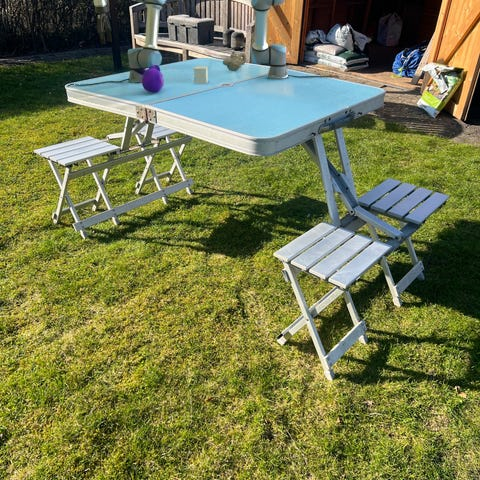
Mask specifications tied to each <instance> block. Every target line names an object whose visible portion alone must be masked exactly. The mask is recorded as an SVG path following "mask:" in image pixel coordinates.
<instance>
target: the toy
mask: <svg viewBox="0 0 480 480" xmlns="http://www.w3.org/2000/svg"><path fill="white" fill-rule="evenodd" d="M134 71H135V72H137V73H139V74H141V75H143V76H142V83H141V85H142V87H143V89H144V90H145V91H146V92H147V93H151V94H157V93H159V92H160V91H161V90H162V89H163V87H164V86H165V78H164V75H163V72H161V67H160V65H159V66H158V65H154V66H150V67H149V68H146V70H134Z"/></svg>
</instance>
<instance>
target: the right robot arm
mask: <svg viewBox="0 0 480 480" xmlns="http://www.w3.org/2000/svg"><path fill="white" fill-rule="evenodd" d="M285 2H286V0H250V5H251V8H252V9H253V10H254V11H253V13H254V23H253V25H254V37H253V40H254V42H253V43H252V44H251V46H250V47H249V49H250V50H249V51H250V58H251V63H252V64H253V65H254V64H255V65H256V64H257V65H261V64H269V66H270V67H269V70H268V72H267V79H269V80H285V79H288V78H289V77H292V78H298V79H299V78H338V79H339V78H340V76H339V75H305V76H304V75H302V76H301V75H299V76H298V75H292V74H288V71H287V47H286V45H283V44H279V43H271V44H270V46H269V44H268V43H267V33H268V14H269V13H268V12H269V11H270V10H271V7H275V6H280V5H282V4H284V3H285Z"/></svg>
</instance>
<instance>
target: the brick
mask: <svg viewBox="0 0 480 480" xmlns="http://www.w3.org/2000/svg"><path fill="white" fill-rule="evenodd" d="M193 77H194V85H208V83H209V73H208V66H204V65H203V66H194V68H193Z"/></svg>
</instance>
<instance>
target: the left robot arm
mask: <svg viewBox="0 0 480 480" xmlns="http://www.w3.org/2000/svg"><path fill="white" fill-rule="evenodd" d="M131 1H132V2H137V3H140V4H145V7H146V8H147V11H146V12H147V13H146V24H145V25H146V26H145V40H144V45H142V47H135V48H130V49H127V58H128V66H129V76H128V78H125V79H122V80H106V81H100V82H94V83H86V84H85V83H82V84H81V83H80V85H79V84H77V83H69V84H70V85H69V84H67V87H68V88H69V87H70V86H78V87H83V86H85V87H86V86H94V85H100V84H107V83H122V82H127V81H128V82H129V83H133V84H142V76H143V75H141V74H139V73H137V72H135V71H134V70H147V69H149V67H150V66H154V65H158V66H159V67H160V66H161V64H162V60H163V57H162V54H161V52H160V49H159V47H158V40H159V27H160V14H161V10H162V9H163V5H164V4H165V3H166V2H167V0H131ZM107 2H108V0H93V5H94V11H95V13H96V14H97V15H96V22H97V23H96V25H97V29H96V30H97V34H98V35H99V40H100V44H101V45H106V40H107V42H109V43H110V42H113V39H112V34H111V31H112V27H111V22H110V20H109V15H108V12H109V9H108V6H107ZM104 28H105V33H104ZM105 34H106V38H105ZM74 84H75V85H74ZM73 136H74V138H75V137H76V131H75V130H73Z"/></svg>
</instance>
